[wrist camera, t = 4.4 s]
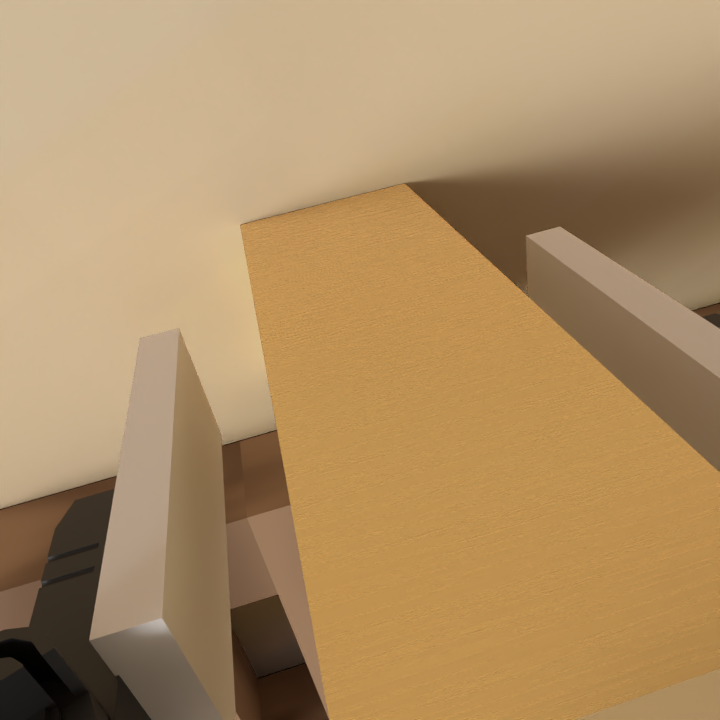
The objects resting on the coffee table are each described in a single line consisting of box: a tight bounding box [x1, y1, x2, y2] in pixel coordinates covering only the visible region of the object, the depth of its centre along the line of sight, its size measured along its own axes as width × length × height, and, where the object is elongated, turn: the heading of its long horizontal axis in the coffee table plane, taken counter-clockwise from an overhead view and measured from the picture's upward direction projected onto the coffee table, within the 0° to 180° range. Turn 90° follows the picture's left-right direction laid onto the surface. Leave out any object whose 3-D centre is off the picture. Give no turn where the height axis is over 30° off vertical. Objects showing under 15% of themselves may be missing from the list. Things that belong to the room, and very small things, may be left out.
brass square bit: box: [240, 184, 720, 720], centre depth 10 cm, size 4×4×12 cm
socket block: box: [0, 304, 720, 720], centre depth 20 cm, size 24×14×3 cm, turn 100°
